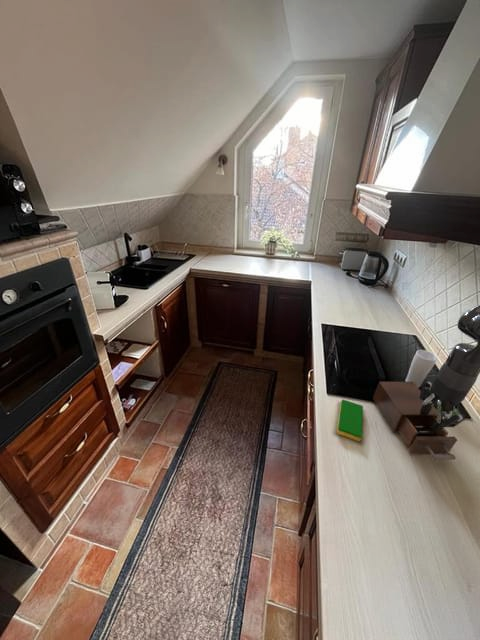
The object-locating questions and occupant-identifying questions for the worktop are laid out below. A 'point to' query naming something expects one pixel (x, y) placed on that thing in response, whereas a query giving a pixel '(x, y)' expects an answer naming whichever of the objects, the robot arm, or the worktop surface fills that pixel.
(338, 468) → the worktop surface
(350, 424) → the dish sponge
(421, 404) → the cabinet
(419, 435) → the clip
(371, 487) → the worktop surface
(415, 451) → the drawer
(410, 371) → the drinking glass
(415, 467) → the worktop surface
